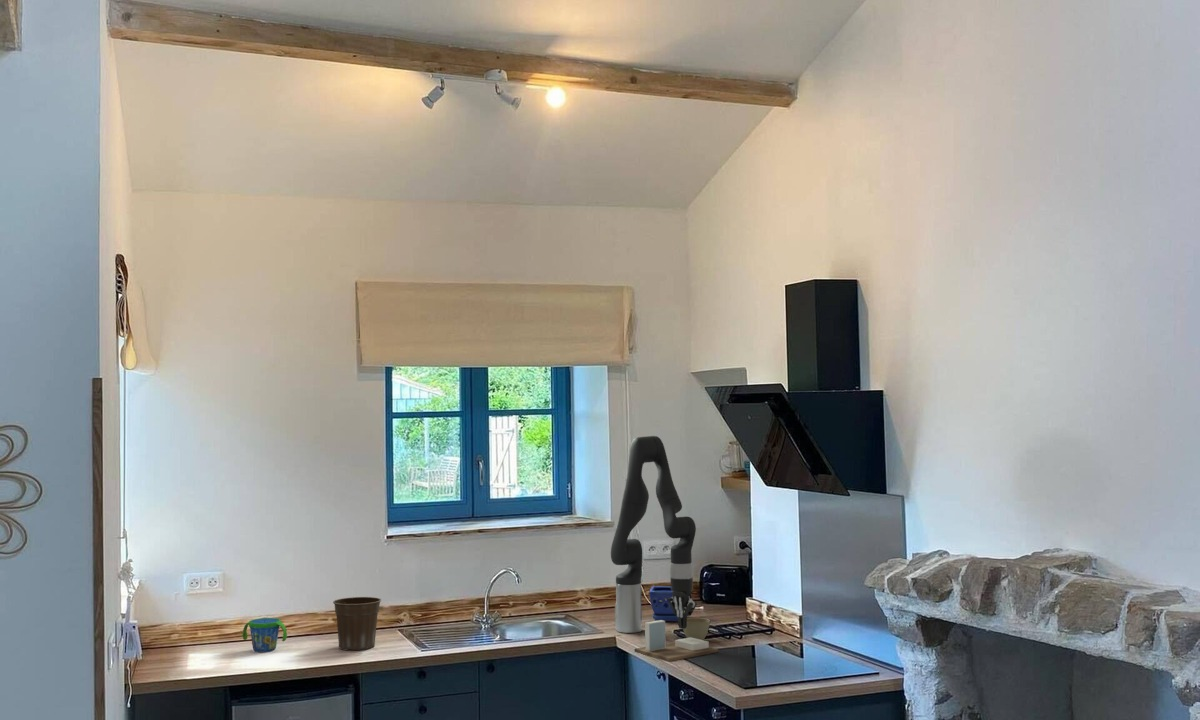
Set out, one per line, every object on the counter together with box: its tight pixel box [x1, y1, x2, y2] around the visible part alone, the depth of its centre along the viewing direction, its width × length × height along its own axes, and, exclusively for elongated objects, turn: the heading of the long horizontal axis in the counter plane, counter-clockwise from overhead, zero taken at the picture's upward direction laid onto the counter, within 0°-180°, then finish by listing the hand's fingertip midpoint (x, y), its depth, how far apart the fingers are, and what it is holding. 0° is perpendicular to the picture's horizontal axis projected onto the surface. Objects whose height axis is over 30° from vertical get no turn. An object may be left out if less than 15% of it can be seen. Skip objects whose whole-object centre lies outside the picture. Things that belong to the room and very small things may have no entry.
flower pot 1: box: [649, 585, 678, 622], centre depth 404 cm, size 13×13×12 cm
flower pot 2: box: [682, 617, 711, 641], centre depth 363 cm, size 10×10×7 cm
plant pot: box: [332, 596, 382, 651], centre depth 362 cm, size 16×16×16 cm
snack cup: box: [242, 617, 288, 653], centre depth 359 cm, size 16×10×10 cm
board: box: [634, 641, 719, 662], centre depth 346 cm, size 18×21×1 cm
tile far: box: [674, 637, 710, 651], centre depth 348 cm, size 2×7×9 cm
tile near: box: [644, 620, 667, 651], centre depth 346 cm, size 2×7×9 cm, turn 126°
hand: (682, 628), depth 352 cm, fingers closed
